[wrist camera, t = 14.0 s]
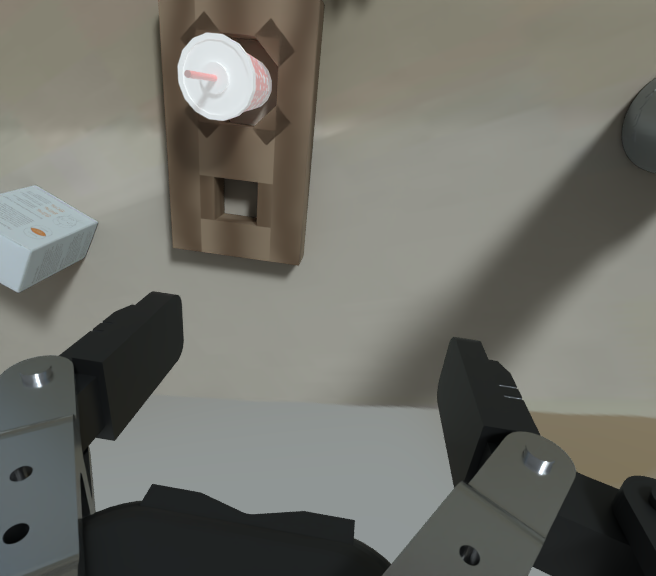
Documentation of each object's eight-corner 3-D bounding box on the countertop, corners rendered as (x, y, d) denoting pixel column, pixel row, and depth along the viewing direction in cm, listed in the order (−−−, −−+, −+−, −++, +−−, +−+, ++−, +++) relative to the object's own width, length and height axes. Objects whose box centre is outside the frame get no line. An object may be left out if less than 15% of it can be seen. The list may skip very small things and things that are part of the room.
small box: (25, 222, 49) (-61, 251, 39) (36, 183, 46) (-52, 203, 37) (86, 258, 50) (17, 295, 40) (100, 221, 48) (30, 251, 38)
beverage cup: (274, 43, 38) (222, 12, 25) (283, 114, 40) (240, 118, 28) (212, 51, 39) (131, 26, 26) (225, 120, 41) (157, 127, 29)
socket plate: (324, 5, 36) (320, -3, 34) (303, 256, 46) (298, 265, 44) (173, -11, 37) (157, -20, 34) (184, 239, 47) (172, 247, 45)
